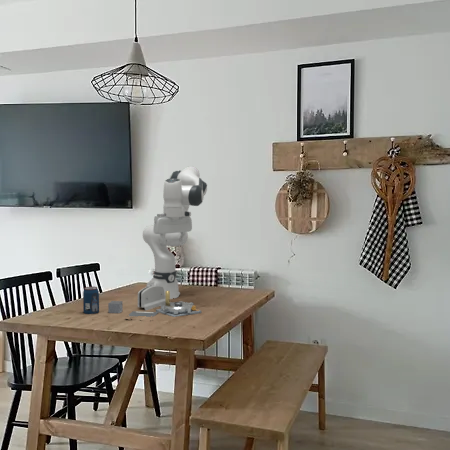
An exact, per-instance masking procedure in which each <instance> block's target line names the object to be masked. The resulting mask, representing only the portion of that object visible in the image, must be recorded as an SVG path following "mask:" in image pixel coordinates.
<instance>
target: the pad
mask: <svg viewBox="0 0 450 450" xmlns="http://www.w3.org/2000/svg"><path fill="white" fill-rule="evenodd" d="M158 314H159V312H156V311H137V310H133V311H131V312H130V313H129V314H128V315H129V316H128V317H138V316H146V317H148V318H154V317H155V316H157V315H158ZM151 316H152V317H151ZM146 317H145V318H146Z"/></svg>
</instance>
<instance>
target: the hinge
mask: <svg viewBox="0 0 450 450" xmlns="http://www.w3.org/2000/svg"><path fill="white" fill-rule="evenodd" d="M161 305H165V293H164V288H163V287H160V286H149V287H146V286H145V287H143V288H142V289H140V290H139V291H138V292H137V308H144V312H147V311H148V310H152V309H154V308H158V307H161Z"/></svg>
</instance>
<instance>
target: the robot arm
mask: <svg viewBox="0 0 450 450" xmlns="http://www.w3.org/2000/svg"><path fill="white" fill-rule="evenodd" d="M207 191H208V184H207V183H206V182H205V181H204V180H202V178H201V177H200V171H199V170H198V168H197V167H195V166H193V165H190V166H186V167H185V168H183V169H182V170H175V171H173V172H172V173H171V174H170V175H169V178H168V179H167V178H166V179H165V180H164V185H163V211H162V212H163V213H157V214H156V215H155V216H154V217H153V218H154V219H153V221H154V223H153V224H150V225H146V227H144V229H143V230H142V239H143V241H144V242H145V243H146V244H147V245H148V246H149V248H150V250H151V251H152V254H153V257H154V271H152V274H153V275H152V278H151V279H150V280H149V281H148V282H147V283H146V286H145V288H146V287H149V286H160V287H163V288H164V293H165V291H170V300H173V298H174V299H177V298H179V296H180V295H181V292H180V291H179V290H180V289H179V282H178V279H177V270H176V256H175V255H174V253H173V252H171V251H170V250H169V249H168V246H169V247H178V246H184V245H185V244H186V243H187V241H188V236H189V235H188V232H189V233H190V232H191V231H192V230H193V221H192V218H191V216H192V212H191V211H189V209H190V206H193V207H194V206H195V207H198V206H200V205H202V203H203V201H204V199H205V197H204V196H206V194H207Z"/></svg>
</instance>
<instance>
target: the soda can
mask: <svg viewBox="0 0 450 450" xmlns="http://www.w3.org/2000/svg"><path fill="white" fill-rule="evenodd" d="M83 289H84V290H83V292H82V299H83V300H82V304H83V306H82V307H83V310H82V312H83V313H84V314H85V315H86V314H87V315H95V314H98V313H99V312H100V291H99V288H98V287H97V286H86V287H84V288H83Z"/></svg>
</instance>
